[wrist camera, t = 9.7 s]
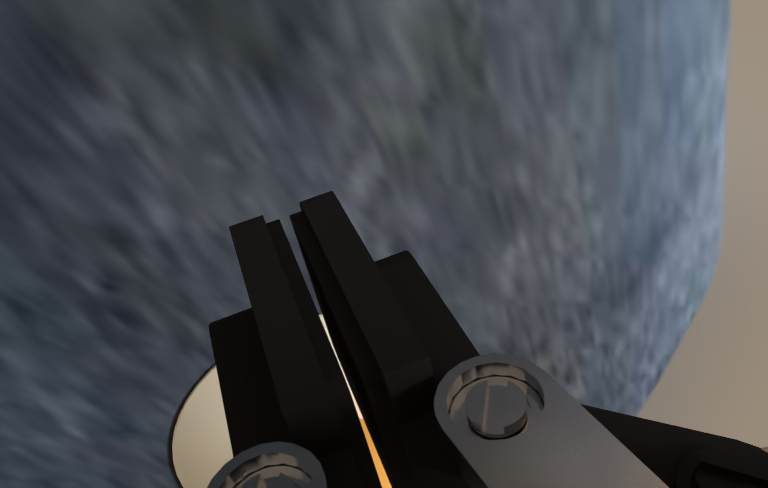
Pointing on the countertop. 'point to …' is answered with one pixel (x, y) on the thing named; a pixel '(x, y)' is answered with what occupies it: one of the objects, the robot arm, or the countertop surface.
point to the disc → (207, 431)
